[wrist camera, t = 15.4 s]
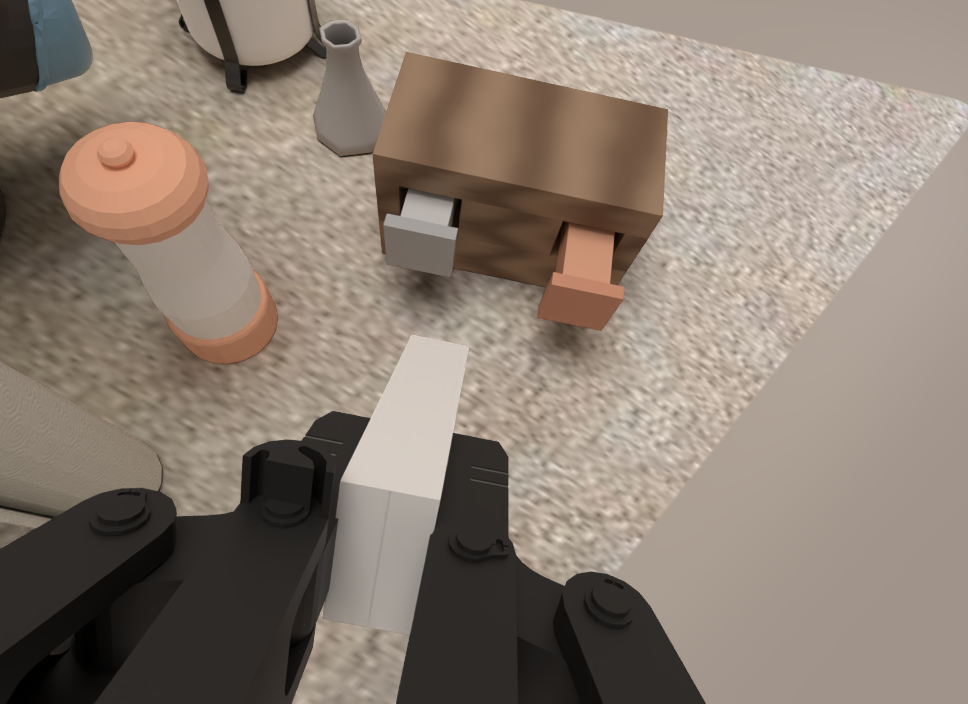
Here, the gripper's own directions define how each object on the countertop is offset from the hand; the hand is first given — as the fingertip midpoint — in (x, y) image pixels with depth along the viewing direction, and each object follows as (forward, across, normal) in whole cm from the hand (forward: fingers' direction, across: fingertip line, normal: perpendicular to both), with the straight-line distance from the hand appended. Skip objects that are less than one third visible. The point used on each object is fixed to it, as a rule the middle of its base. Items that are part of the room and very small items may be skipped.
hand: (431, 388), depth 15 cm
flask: (+44, -14, +4) cm, 46 cm away
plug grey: (+34, -4, +1) cm, 34 cm away
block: (+38, +2, -1) cm, 38 cm away
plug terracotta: (+33, +8, -1) cm, 34 cm away
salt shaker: (+29, -18, -12) cm, 36 cm away
